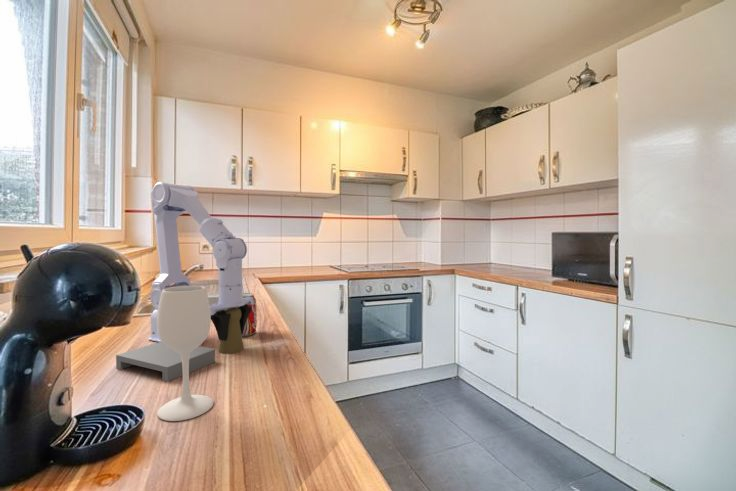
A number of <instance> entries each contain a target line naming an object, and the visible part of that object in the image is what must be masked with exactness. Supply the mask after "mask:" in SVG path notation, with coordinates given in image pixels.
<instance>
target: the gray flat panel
mask: <svg viewBox="0 0 736 491" xmlns="http://www.w3.org/2000/svg"><path fill="white" fill-rule="evenodd" d="M115 362H116V366H115V368H116V369H118V370H123V369H126V368H129V367H132V366H138V367H142V368H146V369H150V370H154V371H159V372H161V374H162V381H165V382H166V383H167V382H170V381H173V380H176V379H177V378H179V377H183V368H182V359H181V356H180V354H179V353H177V352H175V351H173V350H171V349H169V348H168V347H166V346H165V345H164V344H163V343H162V341H161V342H155V343H153V344H148V345H145V346H141V347H138V348H134V349H131V350H129V351H125V352H121V353H118V354H116V355H115ZM215 362H216V349H215V348H210V347H205V346H201V345H200V346H198V347H197V348H196V349H194V350H193V351H192V352H191V354H190V357H189V374H190V373H192V372H194V371H197V370H199V369H201V368H203V367H206V366H209V365H211V364H214V363H215Z"/></svg>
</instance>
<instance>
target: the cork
mask: <svg viewBox="0 0 736 491" xmlns="http://www.w3.org/2000/svg"><path fill="white" fill-rule="evenodd" d="M225 312H226V314H231V316H230V319H229V323H228V336H227V340H225V341H224V340H219V346H218V352H219V354H222V355H227V354H228V355H229V354H231V355H232V354H236V353H237V354H238V353H240V352H242V351H243V350H244V343H243V337H242V335H241V328H240V322H239V320H240V318H241V310H240V309H239V308H235V307H234V308H230V309H228V310H226V311H225Z"/></svg>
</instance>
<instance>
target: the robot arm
mask: <svg viewBox="0 0 736 491" xmlns="http://www.w3.org/2000/svg"><path fill="white" fill-rule="evenodd" d="M150 199H151V201H150V202H151V211H152V213H153V216H154V218H153V219H154V225H155V226H154V227H155V235H156V245H157V253H158V263H159V265H158V266H159V271H160V272H159V273H160V275H159V276H158V277H157V278H156V279H155V280H153V282H152V283H151V293H150V296H149V297H150V298H149V299H150V302H151V305H152V306H153V308H155V309H154V310H153V311H152V313H151V315H150V337H148V338H147V340H148V341H153V342H156V343H158V342H161V340H160V338H159V334H158V327H157V315H158V307H159V301H160V297H161V293H162V290H163V289H166V288H171V287H179V286H192V284H191V279H190V278H189V277H188V276H187V275H186V274H184V273H183V272H182V263H181V260H182V259H181V253H180V252H181V251H180V244H179V234H178V225H177V219H178V218H179V216H181V215H184V213H186V212H187V213H188V215H190V216H191V217H192V219H193V220H195V222H197V224H199V226H200V227H199V232H200V234H201V235H202V236H203V237H204V238H205V240H206V241H207V242H208V244H209V245H210V246H211V247H212V248H213V249H212V254H213V258H214V259H215V264H216V266H217V269H218V301H217V302H215V303H212V304H210V312H211V322H212V324H213V325H214V328H215V331H216V334H217V338H218V340H219V341H220V340H224V341H225V340H227V336H228V323H229V319H230V316H231V314H226V312H225V311H226V310H228V309H230V308H234V307H235V308H239V309H240V310H241V318H240V320H239V322H240V328H241V335H242V334H243V331H244V327H245V323H246V320H247V318H248V316H249V314H250V312H251V310H252V307H249V306H248V305H252V304H253V297H245V298H242V293H243V259H244V258H246V256H247V252H248V248H247V244H246V242H245V241H244V239H243V238H241V237H236V236H235V235H234V234H233V233H232V232H230V230H229V229H228V228H227V227H226V225H225V224H224V222H223V220H222V219H221V218H220V219H219V218H217V217H212V216H211V214H210V213H209V212H208V210H207V209H206V208H205V206H204V205H203V204H202V202H201V201H200V199H199V192H198V191H196V189H195V188H194V187H193V186H191V185H183V184H175V183H169V182H165V181H158V182H156V183H155V185H154V186H153V188H152V189H151V190H150Z"/></svg>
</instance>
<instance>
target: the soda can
mask: <svg viewBox="0 0 736 491" xmlns="http://www.w3.org/2000/svg"><path fill="white" fill-rule="evenodd" d="M245 297H253V304H252V305H248V306H249V307H252V310H251V312H250V314H249V316H248V318H247V320H246V323H245V327H244V331H243V334H242V338H244V337H250V336H253V335H254V334H255V333H256V332H257V320H258V318H257V299H256V297H255V293H251V292H242V298H245Z"/></svg>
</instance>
